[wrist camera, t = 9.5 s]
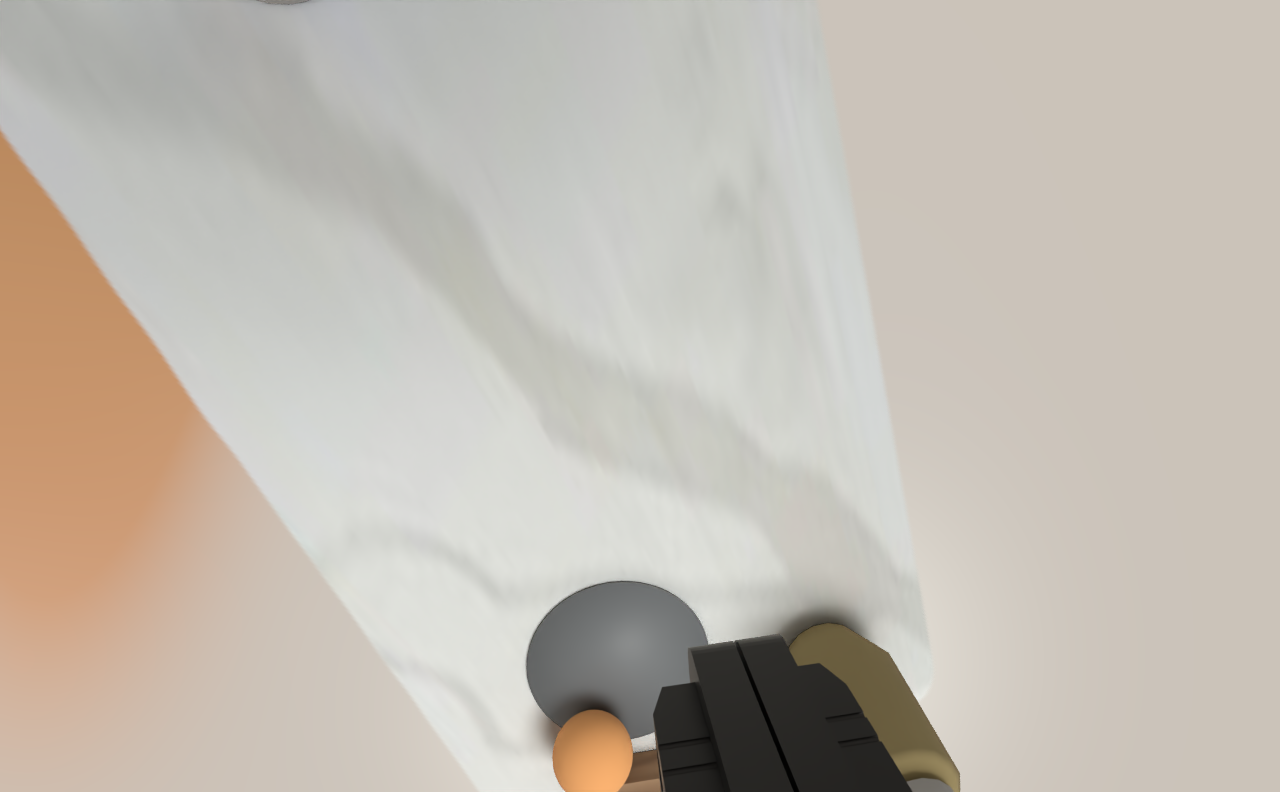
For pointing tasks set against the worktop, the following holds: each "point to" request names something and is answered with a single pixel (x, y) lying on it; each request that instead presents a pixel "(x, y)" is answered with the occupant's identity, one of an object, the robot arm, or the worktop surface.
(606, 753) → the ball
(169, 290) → the worktop surface
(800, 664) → the squeeze bottle
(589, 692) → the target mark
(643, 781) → the strip
